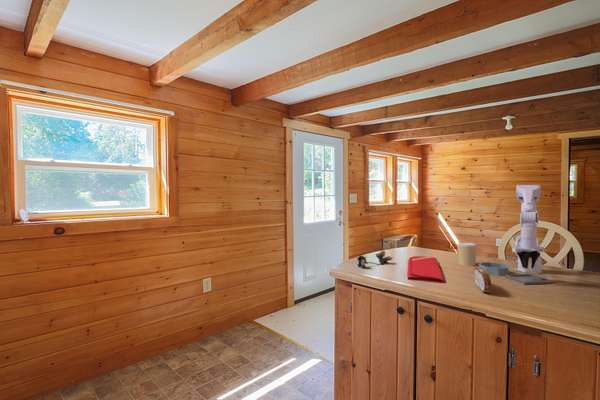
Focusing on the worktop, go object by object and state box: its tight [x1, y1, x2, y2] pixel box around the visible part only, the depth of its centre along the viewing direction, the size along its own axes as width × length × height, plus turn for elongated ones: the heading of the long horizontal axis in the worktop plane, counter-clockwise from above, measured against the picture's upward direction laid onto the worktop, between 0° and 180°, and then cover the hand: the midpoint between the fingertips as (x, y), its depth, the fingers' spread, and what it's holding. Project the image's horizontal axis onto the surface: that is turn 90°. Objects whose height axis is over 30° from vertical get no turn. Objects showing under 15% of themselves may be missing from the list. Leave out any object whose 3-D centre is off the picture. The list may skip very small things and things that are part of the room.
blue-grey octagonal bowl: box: [478, 261, 510, 277], centre depth 152 cm, size 12×12×4 cm
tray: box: [504, 273, 553, 286], centre depth 139 cm, size 13×11×2 cm
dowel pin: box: [523, 257, 532, 275], centre depth 139 cm, size 2×2×8 cm
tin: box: [474, 267, 493, 294], centre depth 128 cm, size 15×3×8 cm, turn 164°
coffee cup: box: [457, 242, 478, 267], centre depth 167 cm, size 9×9×12 cm
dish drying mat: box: [406, 255, 445, 284], centre depth 158 cm, size 16×41×4 cm, turn 160°
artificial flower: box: [357, 250, 394, 269], centre depth 170 cm, size 9×22×10 cm, turn 118°
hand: (527, 267), depth 139 cm, fingers closed on dowel pin, 2 cm apart
